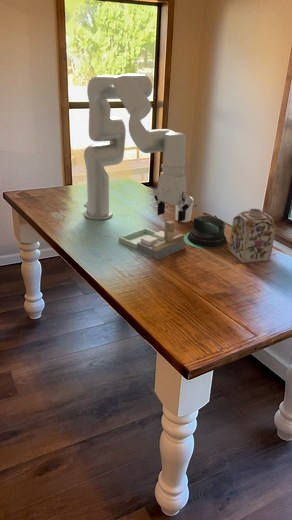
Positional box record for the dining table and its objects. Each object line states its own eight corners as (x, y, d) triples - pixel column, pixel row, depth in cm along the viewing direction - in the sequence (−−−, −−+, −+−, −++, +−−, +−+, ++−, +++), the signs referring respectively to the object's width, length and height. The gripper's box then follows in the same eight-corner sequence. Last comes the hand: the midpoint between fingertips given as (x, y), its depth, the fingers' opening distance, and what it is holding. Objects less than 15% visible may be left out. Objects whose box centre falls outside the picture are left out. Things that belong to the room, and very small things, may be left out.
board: (136, 250, 160) (136, 242, 159) (163, 239, 170) (163, 232, 169) (158, 259, 153) (158, 252, 152) (184, 248, 163) (185, 241, 162)
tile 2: (153, 237, 164) (153, 233, 164) (161, 234, 167) (161, 230, 167) (162, 240, 161) (162, 236, 161) (169, 237, 164) (170, 233, 164)
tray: (118, 242, 166) (118, 237, 165) (145, 232, 176) (145, 227, 175) (136, 250, 160) (136, 244, 159) (163, 239, 170) (163, 234, 169)
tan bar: (151, 249, 153) (152, 226, 150) (179, 238, 164) (181, 216, 160) (156, 251, 152) (157, 228, 148) (184, 240, 163) (186, 218, 159)
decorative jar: (241, 263, 153) (248, 216, 145) (227, 250, 163) (233, 205, 155) (271, 261, 156) (279, 214, 148) (255, 248, 166) (262, 204, 158)
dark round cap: (240, 240, 173) (243, 218, 169) (215, 255, 159) (218, 232, 155) (199, 227, 184) (201, 207, 180) (172, 240, 170) (174, 218, 166)
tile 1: (140, 241, 160) (140, 238, 159) (148, 238, 163) (149, 235, 162) (149, 245, 157) (149, 241, 156) (157, 242, 160) (157, 238, 159)
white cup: (191, 217, 195) (193, 196, 190) (191, 223, 188) (193, 201, 183) (174, 216, 195) (176, 195, 191) (173, 222, 188) (175, 200, 184)
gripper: (147, 167, 149) (146, 214, 156) (186, 176, 138) (183, 226, 145) (161, 164, 154) (160, 209, 161) (200, 172, 143) (196, 221, 150)
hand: (171, 217), depth 153 cm, fingers open, 9 cm apart
